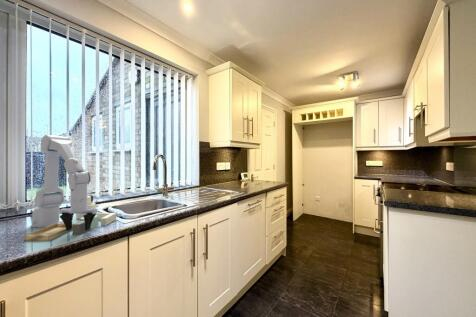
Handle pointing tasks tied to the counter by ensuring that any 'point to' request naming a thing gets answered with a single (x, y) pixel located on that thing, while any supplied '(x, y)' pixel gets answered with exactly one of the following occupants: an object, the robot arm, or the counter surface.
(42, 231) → the tray
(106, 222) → the bay
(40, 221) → the robot arm
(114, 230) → the counter surface
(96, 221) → the gray green block
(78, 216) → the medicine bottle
